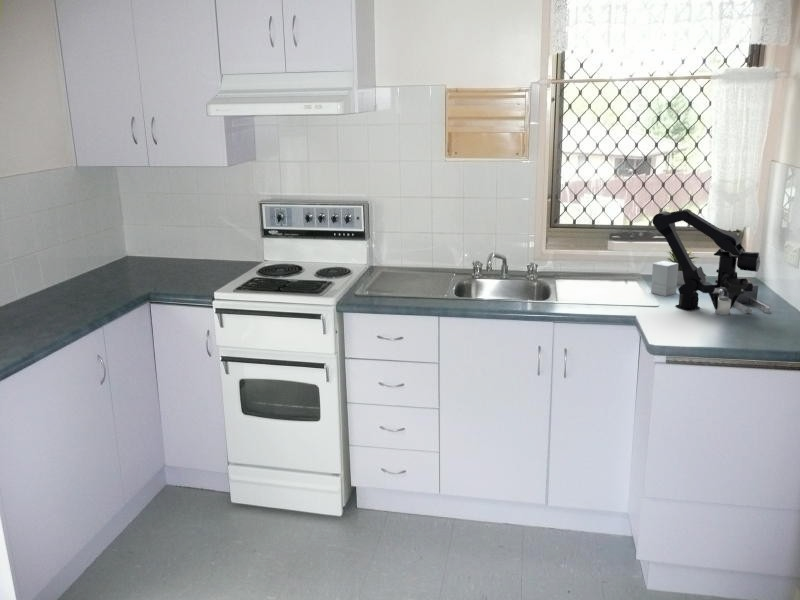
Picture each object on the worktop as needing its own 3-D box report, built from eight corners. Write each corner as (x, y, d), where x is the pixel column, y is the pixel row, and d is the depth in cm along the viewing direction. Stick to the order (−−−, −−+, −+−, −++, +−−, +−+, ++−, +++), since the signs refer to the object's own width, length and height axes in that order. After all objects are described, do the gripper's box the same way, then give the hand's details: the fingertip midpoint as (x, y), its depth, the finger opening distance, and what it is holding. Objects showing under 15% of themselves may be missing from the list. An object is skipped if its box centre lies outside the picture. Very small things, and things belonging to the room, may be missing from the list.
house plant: (677, 289, 297) (680, 251, 292) (652, 282, 308) (654, 245, 304) (701, 285, 303) (705, 247, 298) (675, 278, 315) (678, 241, 310)
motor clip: (737, 314, 263) (739, 292, 261) (713, 300, 281) (715, 280, 279) (774, 312, 264) (777, 291, 261) (748, 298, 282) (750, 278, 279)
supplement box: (676, 293, 292) (679, 263, 288) (665, 296, 288) (667, 266, 284) (661, 289, 298) (663, 260, 294) (650, 292, 294) (652, 262, 290)
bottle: (712, 312, 266) (713, 296, 265) (721, 310, 268) (723, 295, 267) (723, 315, 262) (724, 300, 260) (732, 313, 264) (734, 298, 262)
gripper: (712, 274, 252) (708, 316, 257) (763, 272, 253) (758, 314, 257) (698, 267, 263) (694, 307, 267) (747, 265, 264) (743, 305, 268)
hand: (722, 309), depth 265 cm, fingers closed on bottle, 5 cm apart
